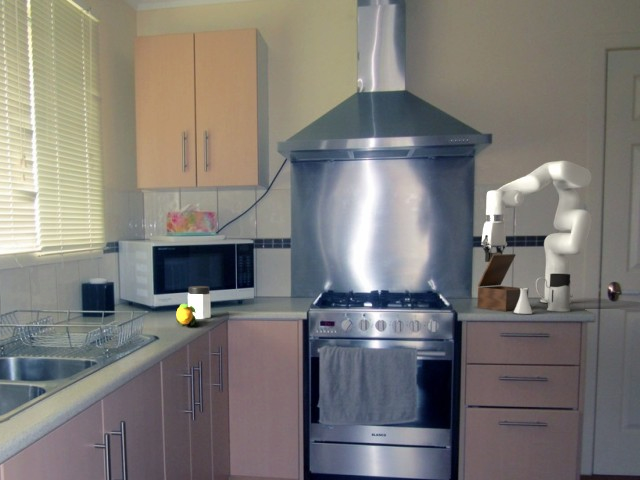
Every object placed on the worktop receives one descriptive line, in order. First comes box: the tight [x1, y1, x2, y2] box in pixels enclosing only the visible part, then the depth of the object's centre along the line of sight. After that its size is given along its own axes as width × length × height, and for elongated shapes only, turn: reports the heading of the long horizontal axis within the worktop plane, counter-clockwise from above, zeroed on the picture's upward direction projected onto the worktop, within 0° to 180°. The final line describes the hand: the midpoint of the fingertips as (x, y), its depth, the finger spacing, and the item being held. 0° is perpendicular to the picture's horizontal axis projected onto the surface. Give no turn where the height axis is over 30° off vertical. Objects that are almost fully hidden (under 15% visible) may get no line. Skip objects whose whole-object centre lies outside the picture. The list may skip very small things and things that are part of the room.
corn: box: [175, 303, 197, 326], centre depth 237 cm, size 7×8×20 cm
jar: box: [187, 285, 212, 320], centre depth 257 cm, size 9×8×12 cm
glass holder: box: [535, 273, 571, 313], centre depth 272 cm, size 9×14×15 cm, turn 89°
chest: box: [477, 285, 529, 312], centre depth 279 cm, size 15×14×9 cm
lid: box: [477, 252, 516, 288], centre depth 283 cm, size 16×14×5 cm
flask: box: [513, 287, 533, 315], centre depth 263 cm, size 7×7×10 cm
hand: (493, 261), depth 282 cm, fingers closed on lid, 5 cm apart
